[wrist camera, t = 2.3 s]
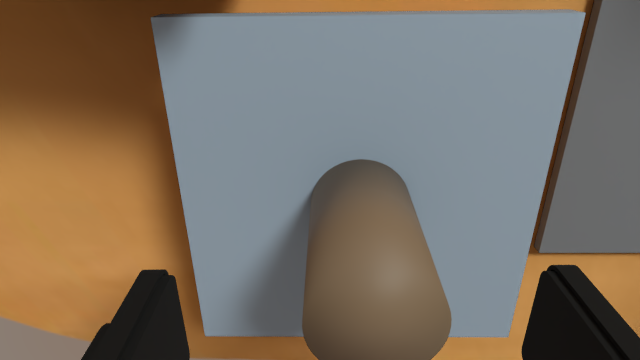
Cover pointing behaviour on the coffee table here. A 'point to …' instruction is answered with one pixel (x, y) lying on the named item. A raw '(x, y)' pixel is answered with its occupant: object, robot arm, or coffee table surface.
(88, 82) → the coffee table surface
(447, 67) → the lid
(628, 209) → the mat
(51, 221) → the coffee table surface
